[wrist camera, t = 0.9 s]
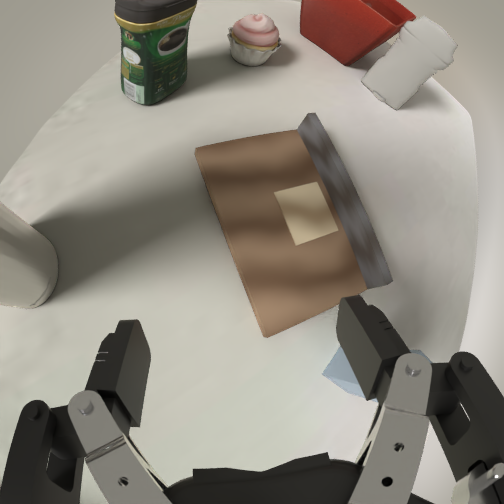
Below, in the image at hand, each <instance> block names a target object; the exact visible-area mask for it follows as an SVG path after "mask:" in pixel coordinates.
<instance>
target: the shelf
mask: <svg viewBox="0 0 504 504" xmlns="http://www.w3.org/2000/svg"><path fill="white" fill-rule="evenodd" d="M195 156H196V159H197V162H198V164H199V167H200V170H201V173H202V176H203V178H204V181H205V184H206V187H207V189H208V192H209V195H210V197H211V200H212V203H213V206H214V208H215V211H216V214H217V216H218V219H219V222H220V225H221V227H222V230H223V233H224V235H225V238H226V241H227V243H228V246H229V249H230V251H231V254H232V256H233V259H234V262H235V264H236V267H237V270H238V272H239V275H240V277H241V280H242V283H243V285H244V288H245V290H246V293H247V296H248V298H249V301H250V303H251V306H252V308H253V311H254V314H255V316H256V319H257V321H258V324H259V326H260V329H261V331H262V334H263V336H264V337H267V338H268V337H270V336H273V335H275V334H277V333H279V332H281V331H284V330H286V329H288V328H290V327H292V326H295V325H297V324H299V323H301V322H303V321H305V320H307V319H309V318H312V317H314V316H316V315H318V314H320V313H322V312H324V311H326V310H328V309H330V308H332V307H334V306H336V305H338V304H340V300H341V298H343V297H349V296H355V295H357V294H359V293H361V292H363V291H365V290H367V289H370V288H375V287H380V286H384V285H388V284H389V283H391V282H393V280H392V277H391V274H390V271H389V269H388V266H387V263H386V260H385V258H384V255H383V253H382V250H381V248H380V245H379V242H378V240H377V238H376V235H375V233H374V230H373V228H372V225H371V223H370V221H369V218H368V216H367V214H366V212H365V209H364V207H363V205H362V203H361V200H360V198H359V196H358V194H357V192H356V190H355V187H354V185H353V183H352V181H351V179H350V177H349V175H348V173H347V171H346V169H345V167H344V165H343V163H342V161H341V159H340V157H339V155H338V153H337V151H336V149H335V147H334V146H333V144H332V142H331V140H330V138H329V136H328V134H327V133H326V131H325V129H324V127H323V125H322V124H321V122H320V120H319V118H318V117H317V115H316V113H308V114H307V115H306V117H305V118H304V120H303V121H302V123H301V124H300V126H299V127H298V129H297V130H290V131H283V132H276V133H270V134H264V135H258V136H252V137H246V138H241V139H236V140H230V141H225V142H221V143H216V144H211V145H206V146H202V147H198V148H196V150H195Z"/></svg>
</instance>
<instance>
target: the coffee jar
mask: <svg viewBox="0 0 504 504" xmlns="http://www.w3.org/2000/svg"><path fill="white" fill-rule="evenodd" d="M115 2H116V3H115V13H114V15H115V19H116V21H117V23H118V24H119V26H120V29H121V41H122V42H121V45H122V46H121V87H122V91H123V92H124V94H125V95H126V96H127V97H128V98H129V99H131V100H132V101H134V102H136V103H138V104H142V105H151V104H154V103H156V102H158V101H160V100H162V99H163V98H165V97H167V96H168V95H170V94H171V93H173V92H174V91H175V90H177V89H178V88H179V87H180V86H181V85H182V84H183V83H184V82H185V80H186V77H187V43H188V31H189V24H190V20H191V17H192V15H193V12H194V10H195V8H196V5H197V0H115Z"/></svg>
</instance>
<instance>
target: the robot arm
mask: <svg viewBox="0 0 504 504" xmlns="http://www.w3.org/2000/svg"><path fill="white" fill-rule="evenodd" d="M57 277H58V258H57V255H56V251H55V249H54V247H53V245H52V244H51V242H50V241H49V240H48V239H47V238H46V237H44V236H43V235H42V234H40V233H39V232H38V231H36V230H35V229H34V228H33V227H31V226H30V225H29V224H28V223H26V222H25V221H24V220H22V219H21V218H20V217H19V216H17V215H16V214H15V213H14V212H12V211H11V210H10V209H9V208H7V207H6V206H5V205H4V204H3V203H1V202H0V305H3V306H10V307H17V308H25V309H29V308H35V307H37V306H39V305H41V304H42V303H44V302H45V301H46V300H47V299H48V298H49V296H50V295H51V293H52V292H53V290H54V287H55V285H56V282H57ZM336 333H337V338H338V341H339V343H340V345H341V347H342V349H343V351H344V353H345V355H346V358H347V360H348V362H349V364H350V366H351V368H352V370H353V372H354V374H355V377H356V379H357V381H358V383H359V385H360V387H361V390H362V392H363V394H364V396H365V398H366V400H367V401H368V400H372V399H375V398H376V399H377V401H378V403H379V404H378V406H377V409H376V412H375V415H374V417H373V420H372V423H371V426H370V429H369V431H368V434H367V437H366V439H365V442H364V444H363V446H362V449H361V451H360V453H359V455H358V457H357V459H356V461H355V463H353V462H350V461H345V460H337V459H329V456H328V452H326V453H322V454H317V455H313V456H308V457H303V458H298V459H294V460H292V461H289V462H287V463H284V464H282V465H279V466H277V467H274V468H271V469H269V470H266V471H262V472H257V471H247V470H239V469H232V468H210V469H193V476H192V477H188V478H185V479H183V480H180V481H178V482H176V483H174V484H173V485H171V486H168V485H167V484H166V483H165V482H164V481H163V480H162V478H161V477H160V476H159V475H158V474H157V473H156V471H155V470H154V469H153V468H152V466H151V465H150V464H149V462H148V461H147V460H146V458H145V457H144V456H143V454H142V453H141V451H140V450H139V449H138V447H137V446H136V444H135V443H134V441H133V440H132V438H131V437H130V436H129V430H130V427H140V422H141V415H142V409H143V402H144V396H145V390H146V384H147V378H148V373H149V367H150V362H151V354H150V348H149V345H148V343H147V340H146V337H145V335H144V332H143V329H142V327H141V324H140V322H139V320H137V319H136V320H120V321H119V323H118V325H117V328H116V331H115V333H109V334H108V336H107V337H106V338H105V339H104V340H103V341H102V343H101V345H100V348H99V351H98V354H97V356H96V359H95V362H94V364H93V367H92V370H91V373H90V376H89V379H88V382H87V385H86V388H85V390H84V391H82V392H79V393H77V394H76V395H75V396H73V397H72V399H71V400H70V402H69V404H68V405H66V406H61V407H56V408H49V406H48V405H47V404H46V403H45V402H44V401H41V400H34V401H31V402H29V403H28V404H26V405H25V406H24V408H23V409H22V411H21V414H20V417H19V420H18V423H17V426H16V430H15V433H14V436H13V440H12V443H11V447H10V451H9V454H8V458H7V463H6V467H5V471H4V476H3V481H2V486H1V491H0V504H79V503H80V491H81V481H82V472H83V464H84V457H86V458H85V461H86V464H87V466H88V468H89V470H90V472H91V474H92V475H93V477H94V479H95V481H96V483H97V484H98V486H99V488H100V490H101V491H102V493H103V495H104V496H105V498H106V500H107V501H108V503H109V504H434V503H432V502H429V501H427V500H425V499H423V498H421V497H419V496H417V495H415V494H412V493H411V491H412V488H413V485H414V481H415V478H416V475H417V471H418V468H419V464H420V460H421V457H422V453H423V449H424V444H425V440H426V435H427V431H428V426H429V420H430V422H431V424H432V426H433V429H434V431H435V433H436V435H437V437H438V440H439V442H440V444H441V446H442V448H443V451H444V453H445V455H446V458H447V460H448V462H449V464H450V467H451V470H452V472H453V475H454V477H455V480H456V482H457V483H456V485H455V487H454V489H453V495H452V498H451V502H452V504H504V397H503V395H502V394H501V392H500V391H499V389H498V388H497V386H496V385H495V383H494V382H493V380H492V379H491V377H490V376H489V374H488V373H487V371H486V370H485V368H484V367H483V365H482V364H481V363H480V361H479V360H478V358H476V357H475V356H474V355H473V354H471V353H468V352H457V353H455V354H454V355H453V356H452V358H451V360H450V362H449V363H430V362H429V361H428V360H427V359H426V358H425V357H423V356H421V355H419V354H415V353H411V352H410V350H409V349H408V347H407V346H406V345H405V343H404V342H403V340H402V339H401V337H400V336H399V334H398V333H397V332H396V330H395V329H393V326H392V324H391V323H390V322H388V319H387V317H386V316H385V315H384V313H383V312H382V311H381V310H379V309H378V308H376V307H375V306H373V305H369V306H368V305H367V304H366V303H365V301H364V300H363V298H362V297H361V296H360V295H355V296H349V297H343V298H341V300H340V304H339V312H338V319H337V326H336ZM460 403H461V404H462V405H463V407H464V409H465V411H466V413H467V414H468V416H469V418H470V421H469V419H468V417H467V415H466V414H465V412H464V410H463V408H462V406H461V404H460ZM49 453H50V456H49ZM87 456H88V457H87ZM48 458H49V461H48ZM47 463H48V466H47Z"/></svg>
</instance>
